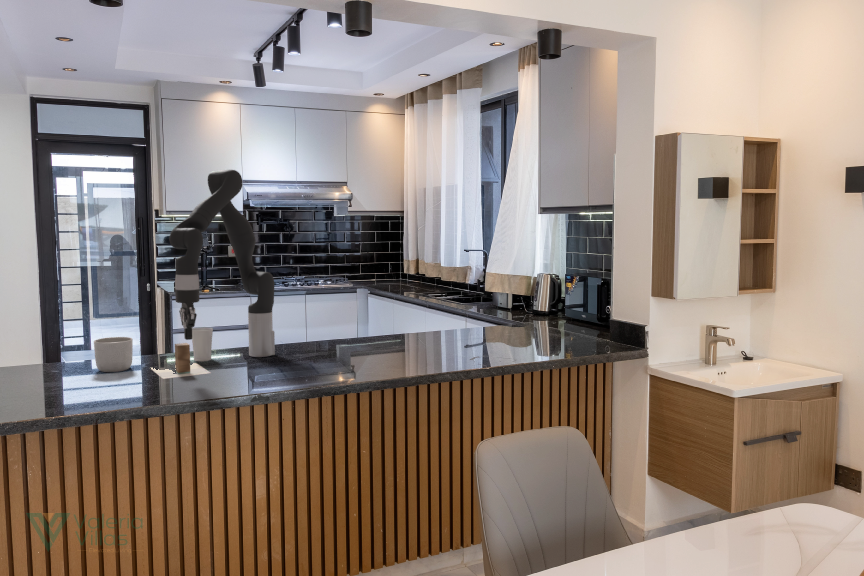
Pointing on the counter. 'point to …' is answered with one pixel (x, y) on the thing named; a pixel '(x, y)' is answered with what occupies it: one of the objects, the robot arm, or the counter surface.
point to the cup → (202, 343)
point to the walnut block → (182, 358)
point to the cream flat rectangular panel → (194, 370)
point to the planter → (113, 353)
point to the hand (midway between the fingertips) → (188, 339)
